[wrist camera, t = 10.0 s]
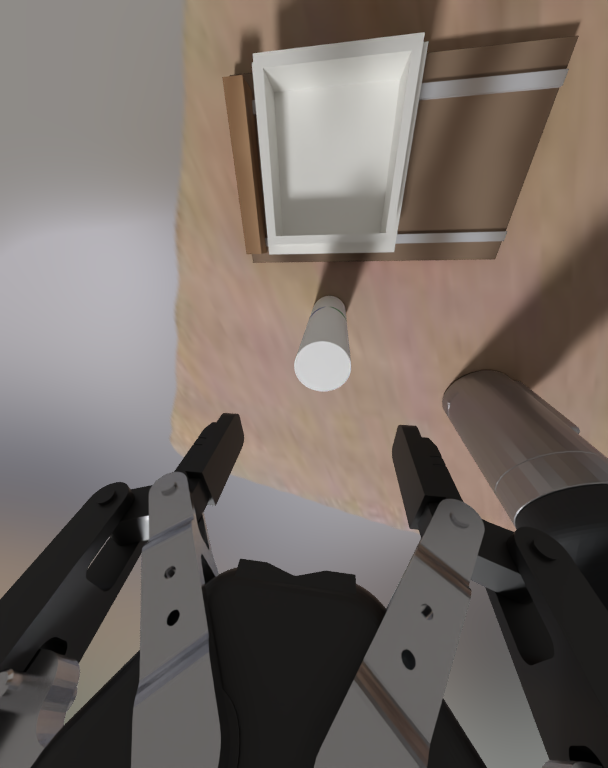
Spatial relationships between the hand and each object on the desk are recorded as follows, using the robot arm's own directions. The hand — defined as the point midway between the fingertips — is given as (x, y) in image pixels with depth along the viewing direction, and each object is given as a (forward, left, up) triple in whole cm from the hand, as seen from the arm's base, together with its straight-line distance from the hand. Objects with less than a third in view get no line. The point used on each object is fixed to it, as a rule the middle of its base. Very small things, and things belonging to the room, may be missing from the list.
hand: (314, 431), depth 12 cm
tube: (0, 0, -22) cm, 22 cm away
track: (-4, -13, -22) cm, 26 cm away
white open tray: (0, -13, -20) cm, 24 cm away
